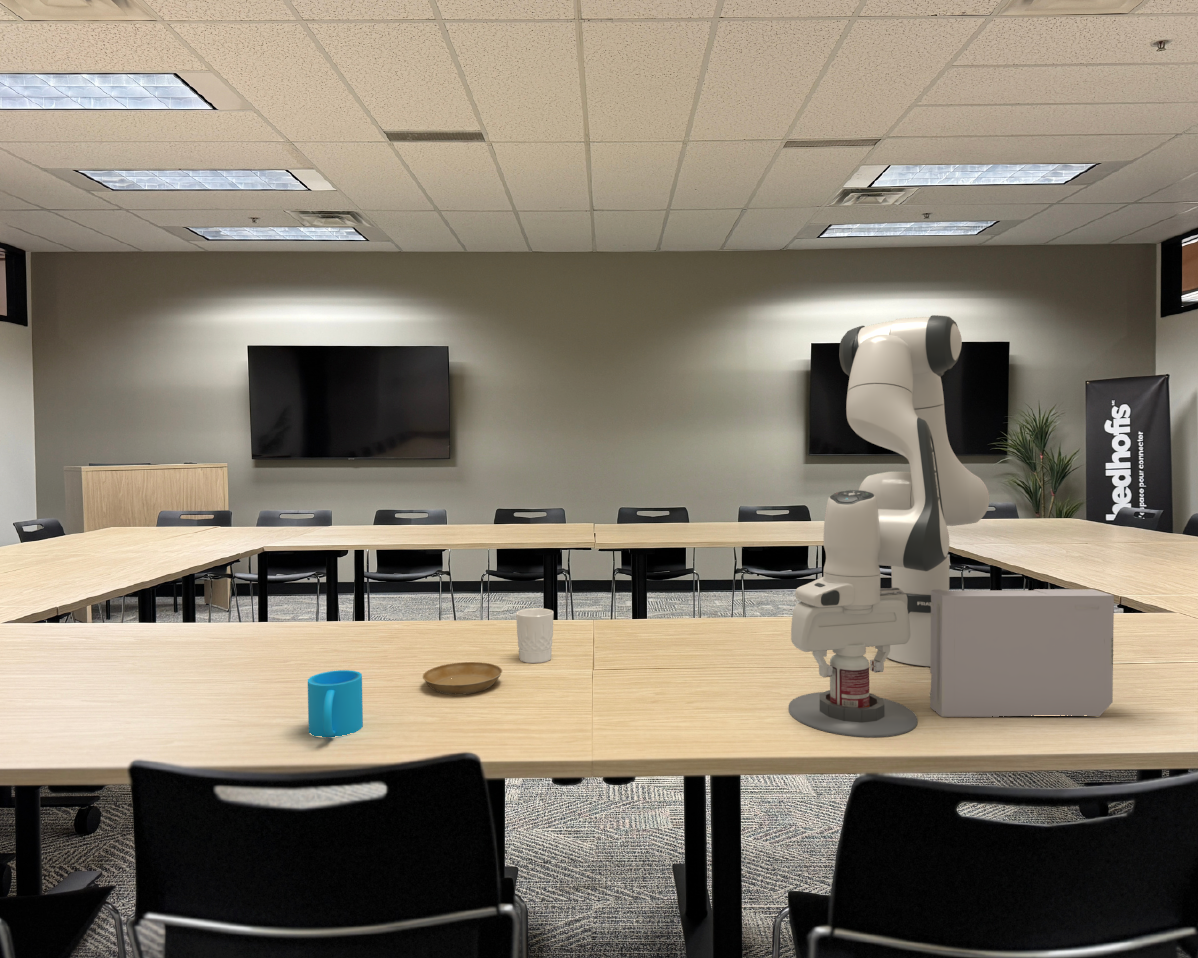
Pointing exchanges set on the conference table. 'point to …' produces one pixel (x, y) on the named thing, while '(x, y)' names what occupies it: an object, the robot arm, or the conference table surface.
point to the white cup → (535, 634)
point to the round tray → (855, 729)
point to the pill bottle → (850, 677)
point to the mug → (335, 703)
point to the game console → (1021, 652)
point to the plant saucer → (462, 677)
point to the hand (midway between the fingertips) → (851, 673)
